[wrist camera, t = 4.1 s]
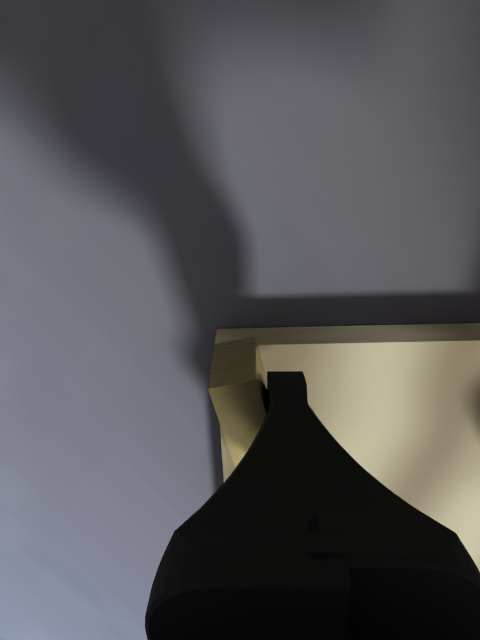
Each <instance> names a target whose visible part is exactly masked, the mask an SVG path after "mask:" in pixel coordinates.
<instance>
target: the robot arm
mask: <svg viewBox="0 0 480 640" xmlns="http://www.w3.org/2000/svg"><path fill="white" fill-rule="evenodd" d="M267 399H268V413H267V415H266V417H265V419H264V421H263V424H262V426H261V428H260V430H259V432H258V434H257V435H256V437H255V439H254V441H253V442H252V444H251V446H250V447H249V449H248V451H247V452H246V454H245V455H244V457H243V458H242V460H241V461H240V462H239V464H238V465H237V466H236V468H235V469H234V471H233V472H232V473H231V475H230V476H229V477H228V478H227V480H226V481H225V482H224V483H223V484H222V485H221V486H220V487H219V489H218V490H217V491H216V492H215V493H214V494H213V495H212V496H211V497H210V498H209V500H208V501H207V502H206V503H205V504H204V505H203V506H202V507H201V508H200V509H199V510H198V511H196V512H195V513H194V514H193V515H192V516H191V517H190V518H189V519H188V520H186V521H185V522H184V523H183V524H182V525H181V526H180V527H179V528H178V529H176V530H175V531H174V533H173V535H172V537H171V540H170V542H169V544H168V546H167V548H166V550H165V552H164V555H163V557H162V559H161V562H160V564H159V567H158V570H157V573H156V576H155V579H154V582H153V585H152V589H151V593H150V598H149V602H148V607H147V611H146V616H145V630H146V634H147V639H148V640H480V571H479V569H478V567H477V566H476V564H475V562H474V561H473V559H472V557H471V556H470V554H469V553H468V551H467V549H466V548H465V546H464V545H463V543H462V542H461V540H460V538H459V537H458V535H457V534H456V533H455V532H454V531H452V530H450V529H449V528H447V527H445V526H444V525H442V524H440V523H439V522H437V521H436V520H434V519H432V518H431V517H429V516H427V515H426V514H424V513H422V512H421V511H419V510H418V509H416V508H415V507H413V506H412V505H410V504H409V503H407V502H406V501H405V500H403V499H402V498H400V497H399V496H398V495H396V494H395V493H393V492H392V491H391V490H389V489H388V488H387V487H386V486H384V485H383V484H382V483H381V482H379V481H378V480H377V479H376V478H375V477H373V476H372V475H371V474H370V473H369V472H367V471H366V470H365V469H364V468H363V467H362V466H361V465H360V464H359V463H358V462H357V461H355V460H354V459H353V458H352V457H351V456H350V455H349V453H348V452H347V451H346V450H345V449H344V448H343V447H342V446H341V445H340V444H339V443H338V442H337V441H336V439H335V438H334V437H333V436H332V435H331V434H330V432H329V431H328V430H327V429H326V427H325V426H324V425H323V424H322V422H321V421H320V420H319V418H318V417H317V416H316V414H315V413H314V411H313V410H312V408H311V407H310V406H309V404H308V398H307V383H306V380H305V376H304V374H303V371H267Z"/></svg>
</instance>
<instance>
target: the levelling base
mask: <svg viewBox="0 0 480 640" xmlns="http://www.w3.org/2000/svg"><path fill="white" fill-rule="evenodd" d="M251 336H255V337H256V340H257V344H258V348H259V351H260V355H261V359H262V363H263V366H264V370H265V374H266V377H267V371H303V374H304V376H305V380H306V383H307V398H308V404H309V406H310V407H311V408H312V410H313V411H314V413H315V414H316V416H317V417H318V418H319V420H320V421H321V422H322V424H323V425H324V426H325V427H326V429H327V430H328V431H329V432H330V434H331V435H332V436H333V437H334V438H335V439H336V441H337V442H338V443H339V444H340V445H341V446H342V447H343V448H344V449H345V450H346V451H347V452H348V453H349V455H350V456H351V457H352V458H353V459H354V460H355V461H357V462H358V463H359V464H360V465H361V466H362V467H363V468H364V469H365V470H366V471H367V472H369V473H370V474H371V475H372V476H373V477H375V478H376V479H377V480H378V481H379V482H381V483H382V484H383V485H384V486H386V487H387V488H388V489H389V490H391V491H392V492H393V493H395V494H396V495H398V496H399V497H400V498H402V499H403V500H405V501H406V502H407V503H409V504H410V505H412V506H413V507H415V508H416V509H418V510H419V511H421V512H422V513H424V514H426V515H427V516H429V517H431V518H432V519H434V520H436V521H437V522H439V523H440V524H442V525H444V526H445V527H447V528H449V529H450V530H452V531H454V532H455V533H456V534H457V535H458V537H459V538H460V540H461V542H462V543H463V545H464V546H465V548H466V549H467V551H468V553H469V554H470V556H471V557H472V559H473V561H474V562H475V564H476V566H477V567H478V569H479V571H480V323H455V324H409V325H364V326H319V327H274V328H229V329H217V331H216V337H215V344H218V343H223V342H228V341H232V340H237V339H242V338H247V337H251ZM215 344H214V345H215ZM220 434H221V448H222V462H223V476H224V482H225V481H226V480H227V478H228V477H229V476H230V475H231V473H232V472H233V471H234V469H235V466H234V463H233V460H232V457H231V455H230V452H229V449H228V446H227V443H226V440H225V437H224V434H223V431H222V429H221V426H220Z"/></svg>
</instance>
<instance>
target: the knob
mask: <svg viewBox="0 0 480 640" xmlns="http://www.w3.org/2000/svg"><path fill="white" fill-rule="evenodd" d="M208 391H209V394H210V397H211V400H212V402H213V405H214V408H215V411H216V414H217V417H218V420H219V423H220V426H221V429H222V431H223V434H224V437H225V440H226V443H227V446H228V449H229V452H230V455H231V457H232V460H233V463H234V466H235V468H236V466H237V465H238V464H239V462H240V461H241V460H242V458H243V457H244V455H245V454H246V452H247V451H248V449H249V447H250V446H251V444H252V442H253V441H254V439H255V437H256V435H257V434H258V432H259V430H260V428H261V426H262V424H263V421H264V419H265V417H266V415H267V413H268V399H267V377H266V374H265V370H264V366H263V363H262V359H261V355H260V351H259V348H258V344H257V340H256V337H255V336H251V337H247V338H242V339H237V340H232V341H228V342H223V343H218V344H215V345H214V352H213V358H212V365H211V372H210V379H209V385H208Z"/></svg>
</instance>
